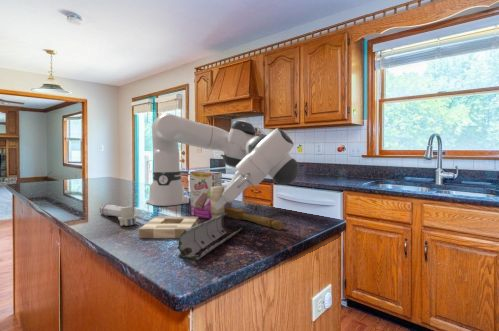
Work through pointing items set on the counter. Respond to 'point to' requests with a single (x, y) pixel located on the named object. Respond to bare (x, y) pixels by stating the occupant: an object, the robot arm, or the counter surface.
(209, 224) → the grey angled channel
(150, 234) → the board
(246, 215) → the tap handle
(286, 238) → the counter surface
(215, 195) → the peg
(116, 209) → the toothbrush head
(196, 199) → the candy bar box
